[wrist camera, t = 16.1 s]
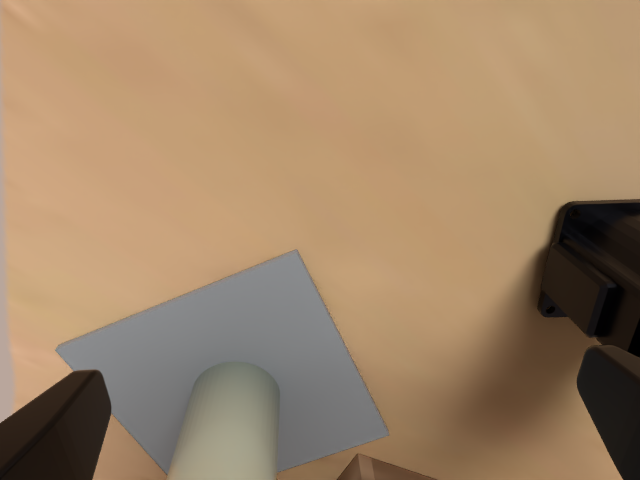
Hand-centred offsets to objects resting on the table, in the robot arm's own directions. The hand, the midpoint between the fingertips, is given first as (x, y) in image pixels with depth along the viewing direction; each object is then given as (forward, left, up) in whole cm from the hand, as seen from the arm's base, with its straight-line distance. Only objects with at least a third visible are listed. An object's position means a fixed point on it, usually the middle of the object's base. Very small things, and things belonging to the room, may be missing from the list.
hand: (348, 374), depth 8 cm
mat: (+5, +13, -13) cm, 19 cm away
